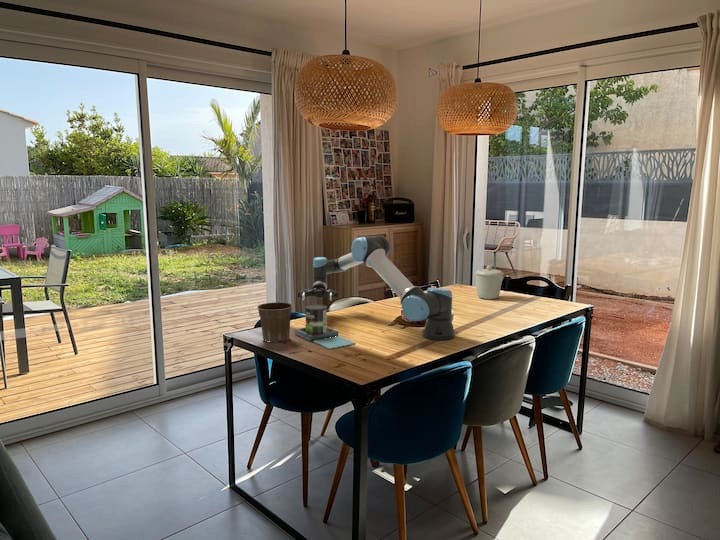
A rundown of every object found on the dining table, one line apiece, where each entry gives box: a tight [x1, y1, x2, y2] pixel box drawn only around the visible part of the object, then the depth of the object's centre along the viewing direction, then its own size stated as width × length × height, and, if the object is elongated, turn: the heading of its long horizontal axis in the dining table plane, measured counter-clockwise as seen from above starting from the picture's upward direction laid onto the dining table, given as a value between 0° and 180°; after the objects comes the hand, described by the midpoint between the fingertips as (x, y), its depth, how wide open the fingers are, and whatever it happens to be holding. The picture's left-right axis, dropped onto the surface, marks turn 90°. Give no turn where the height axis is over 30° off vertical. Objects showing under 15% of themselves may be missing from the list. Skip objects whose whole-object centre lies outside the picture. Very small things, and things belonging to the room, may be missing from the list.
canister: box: [474, 264, 504, 300], centre depth 343 cm, size 18×18×21 cm
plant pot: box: [256, 301, 293, 343], centre depth 251 cm, size 16×16×16 cm
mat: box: [312, 335, 356, 350], centre depth 246 cm, size 14×14×1 cm
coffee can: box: [304, 304, 328, 335], centre depth 258 cm, size 10×10×14 cm
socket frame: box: [293, 326, 339, 343], centre depth 259 cm, size 15×15×2 cm
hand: (316, 297), depth 267 cm, fingers open, 13 cm apart
